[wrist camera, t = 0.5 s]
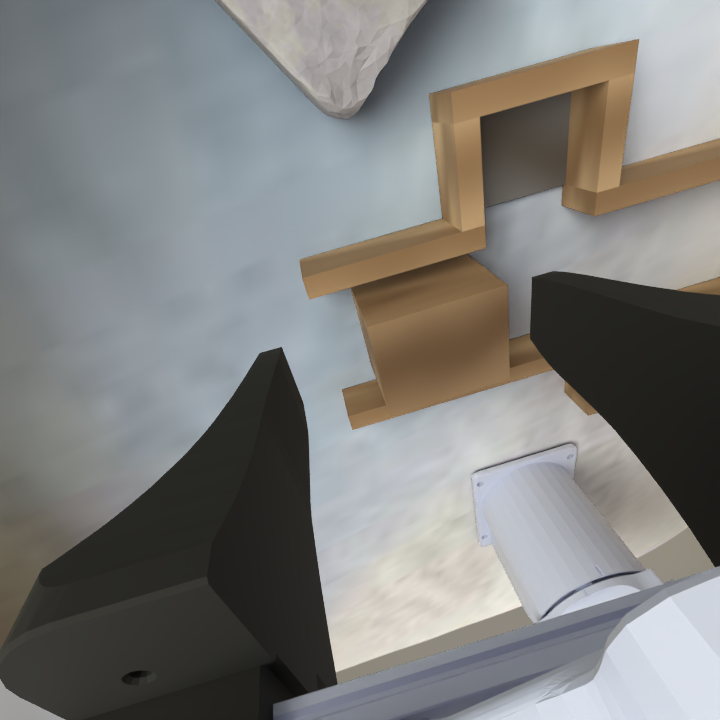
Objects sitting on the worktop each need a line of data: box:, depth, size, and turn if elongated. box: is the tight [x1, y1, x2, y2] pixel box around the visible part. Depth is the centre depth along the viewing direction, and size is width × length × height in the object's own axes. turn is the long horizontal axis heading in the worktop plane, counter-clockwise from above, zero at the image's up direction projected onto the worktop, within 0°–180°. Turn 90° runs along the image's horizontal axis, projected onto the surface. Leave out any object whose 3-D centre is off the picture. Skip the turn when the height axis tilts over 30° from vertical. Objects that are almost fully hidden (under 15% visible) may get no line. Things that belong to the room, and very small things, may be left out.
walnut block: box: [351, 254, 510, 416], centre depth 19 cm, size 5×6×4 cm
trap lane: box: [300, 39, 720, 430], centre depth 20 cm, size 18×27×2 cm
